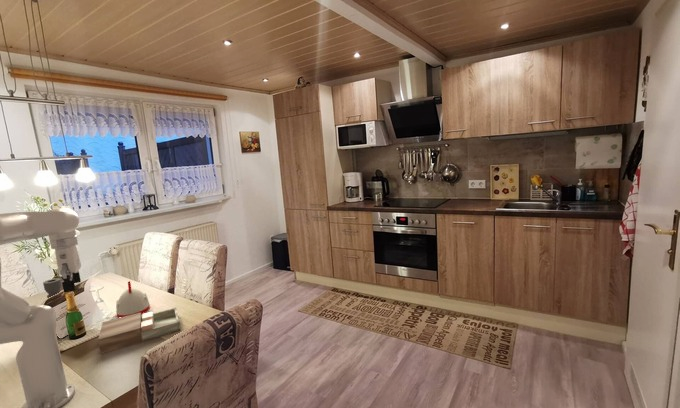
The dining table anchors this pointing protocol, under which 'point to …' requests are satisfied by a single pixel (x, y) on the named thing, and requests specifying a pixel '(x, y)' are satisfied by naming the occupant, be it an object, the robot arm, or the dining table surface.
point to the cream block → (148, 317)
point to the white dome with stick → (132, 302)
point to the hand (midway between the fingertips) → (72, 287)
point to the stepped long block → (135, 330)
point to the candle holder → (52, 287)
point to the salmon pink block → (147, 325)
